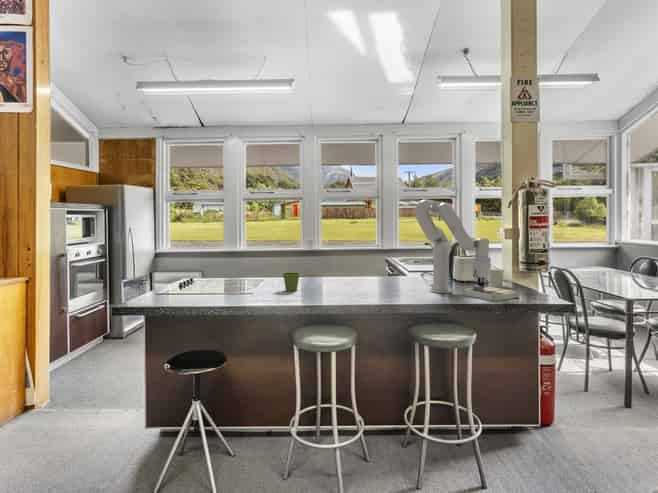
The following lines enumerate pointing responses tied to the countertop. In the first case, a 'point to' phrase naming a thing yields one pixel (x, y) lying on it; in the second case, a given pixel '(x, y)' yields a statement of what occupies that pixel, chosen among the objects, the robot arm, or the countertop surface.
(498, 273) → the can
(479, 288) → the charcoal tile
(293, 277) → the plant pot
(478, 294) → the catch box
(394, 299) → the countertop surface
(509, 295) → the birch plate
